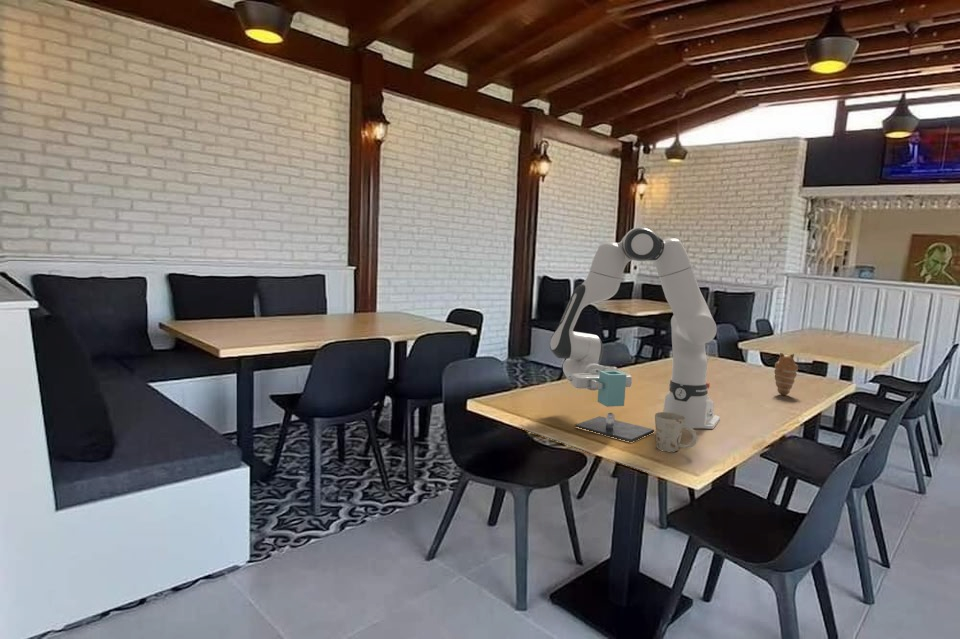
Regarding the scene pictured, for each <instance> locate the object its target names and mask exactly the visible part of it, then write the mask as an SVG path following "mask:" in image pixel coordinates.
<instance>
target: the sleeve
mask: <svg viewBox="0 0 960 639" xmlns="http://www.w3.org/2000/svg"><path fill="white" fill-rule="evenodd" d="M599 382H603V383H605V388H604V389H599V388H598V392H597V403H599V404H601V405H603V406H605V407H607V408H608V407H609V408H610V407H625V399H626V387H625V386H626V374H623V373H621V372H618V371H600V373H599Z"/></svg>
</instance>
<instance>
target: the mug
mask: <svg viewBox="0 0 960 639" xmlns="http://www.w3.org/2000/svg"><path fill="white" fill-rule="evenodd" d="M684 421H685V417H684V416H682V415H680V414H676V413H670V412H663V411H659V412H656V413H655V414H654V423H655V438H656V439H655V440H656V441H655V442H656V448H658V450H659V449H660V450H659V451H661V450H663V451H662V452H665V451H669V452H668V453H676V452H675V451H677V452H678V451H679V449H680V448H681V449H691V448H692V447H694V446H695V445H696V444H697V441H698V435H697V432H696V430H694V429H695V428H692V427H690V426H687V425H684ZM683 430H687V431H689V432H690V434H691V435H692V436H691V437H692V439H691V442H690V443H688V444H687V445H686V444H682V443H681V438H682V434H683Z"/></svg>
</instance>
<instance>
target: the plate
mask: <svg viewBox="0 0 960 639" xmlns="http://www.w3.org/2000/svg"><path fill="white" fill-rule="evenodd" d="M574 427H579V428H582V429H586V430H589V431H593V432H596V433H600V434H603V435H606V436H610V437H614V438H617V439H621V440H625V441H629V442H633V441H635V442H637V441H636V440H638V439H640V438H642V437H644V436H646V437H648V436H647V435H649V434H651V433H653V432H654V433H655V429H654V428H649V427H645V426H641V425H637V424H633V423H629V422H626V421H625V422H624V421H621V420H617V419H615V414H614V413H613V412H608V413H607V414H606V417H604V416H597V417H593V418H591V419H588V420H584V421H582V422H579V423H576V424H575V425H574ZM654 433H653V434H654ZM651 435H652V434H651ZM606 436H605V437H606ZM649 436H650V435H649ZM610 437H609V438H610ZM644 438H645V437H644ZM617 439H616V440H617ZM642 439H643V438H642ZM621 440H620V441H621ZM640 440H641V439H640ZM625 441H624V442H625ZM638 441H639V440H638ZM633 443H634V442H633Z"/></svg>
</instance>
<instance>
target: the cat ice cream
mask: <svg viewBox="0 0 960 639" xmlns="http://www.w3.org/2000/svg"><path fill="white" fill-rule="evenodd" d="M794 357H795V354H794V353H792V354H783V353H782V352H780V353H779V358H778V361H776V362H775V364H774V380H775V386H776V387H777V392H778V394H779V395H782V396H787V395H789V394H790V393H791V390H792V388H793V385H794V384H795V378H797V372H798V370H799V365H798V364H797V363H796V362H795V359H794Z"/></svg>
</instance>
